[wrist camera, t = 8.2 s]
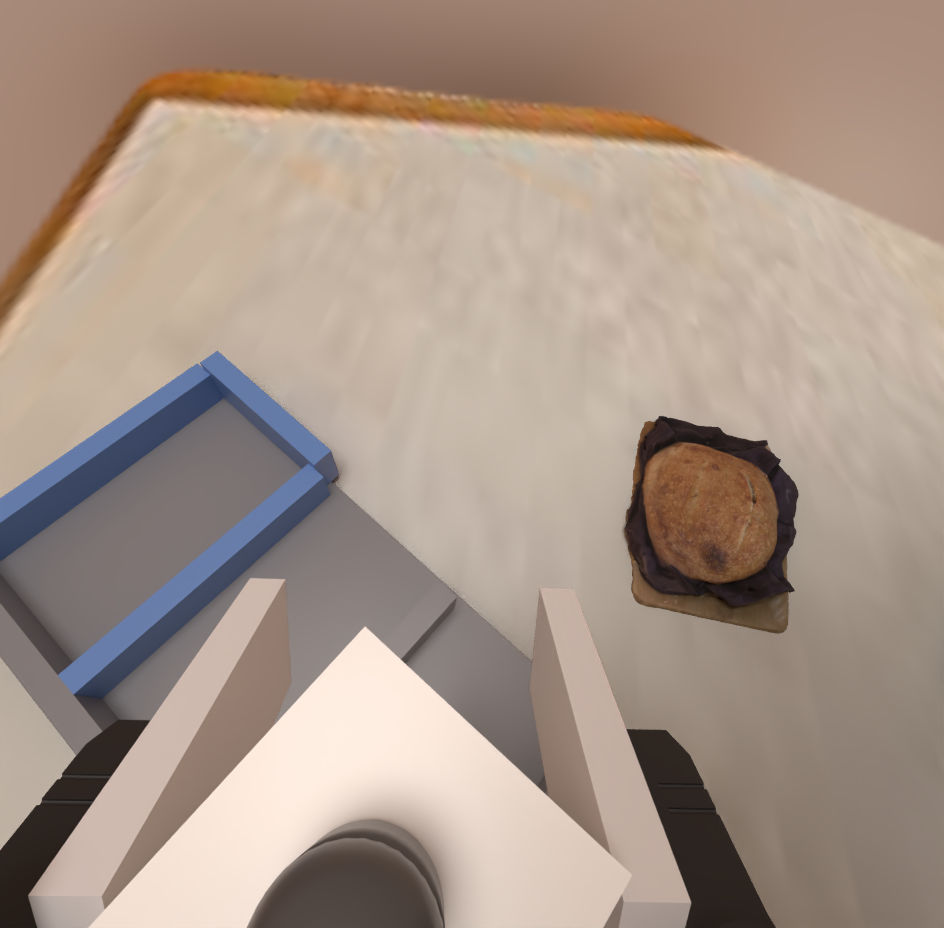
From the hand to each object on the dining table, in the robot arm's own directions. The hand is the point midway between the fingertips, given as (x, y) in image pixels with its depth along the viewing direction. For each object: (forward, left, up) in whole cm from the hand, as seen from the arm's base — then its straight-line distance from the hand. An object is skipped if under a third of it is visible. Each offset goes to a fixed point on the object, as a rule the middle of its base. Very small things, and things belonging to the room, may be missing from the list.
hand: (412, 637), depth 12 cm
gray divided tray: (+3, -6, -12) cm, 14 cm away
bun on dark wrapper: (-15, +5, -13) cm, 21 cm away
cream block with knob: (+3, +2, -3) cm, 5 cm away
